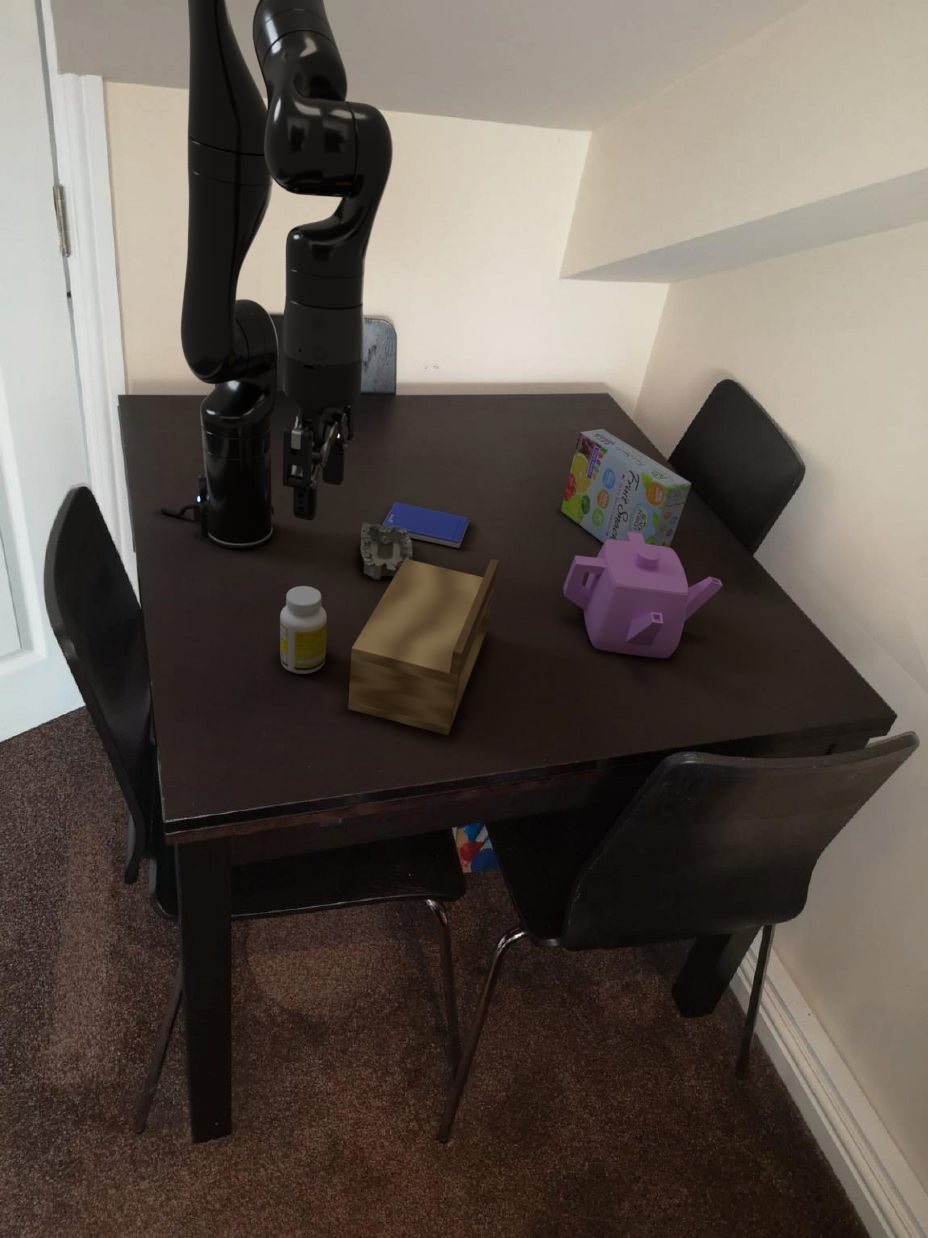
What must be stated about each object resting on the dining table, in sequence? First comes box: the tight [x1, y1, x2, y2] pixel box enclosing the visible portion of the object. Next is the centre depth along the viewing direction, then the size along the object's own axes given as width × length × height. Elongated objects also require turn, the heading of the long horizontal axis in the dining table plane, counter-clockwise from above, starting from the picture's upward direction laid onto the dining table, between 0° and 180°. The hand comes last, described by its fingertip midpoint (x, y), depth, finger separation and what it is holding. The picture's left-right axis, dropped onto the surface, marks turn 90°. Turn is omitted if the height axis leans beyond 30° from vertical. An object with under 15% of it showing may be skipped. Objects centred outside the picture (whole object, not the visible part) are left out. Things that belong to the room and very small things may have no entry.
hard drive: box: [381, 502, 470, 549], centre depth 127 cm, size 2×8×12 cm
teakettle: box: [562, 531, 723, 659], centre depth 109 cm, size 17×17×12 cm
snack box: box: [560, 428, 692, 548], centre depth 128 cm, size 21×6×15 cm, turn 33°
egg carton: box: [360, 521, 413, 580], centre depth 117 cm, size 11×8×4 cm
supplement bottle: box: [279, 585, 328, 675], centre depth 94 cm, size 5×5×10 cm
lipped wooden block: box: [347, 558, 500, 736], centre depth 95 cm, size 12×20×12 cm, turn 167°
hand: (319, 499), depth 85 cm, fingers open, 8 cm apart
